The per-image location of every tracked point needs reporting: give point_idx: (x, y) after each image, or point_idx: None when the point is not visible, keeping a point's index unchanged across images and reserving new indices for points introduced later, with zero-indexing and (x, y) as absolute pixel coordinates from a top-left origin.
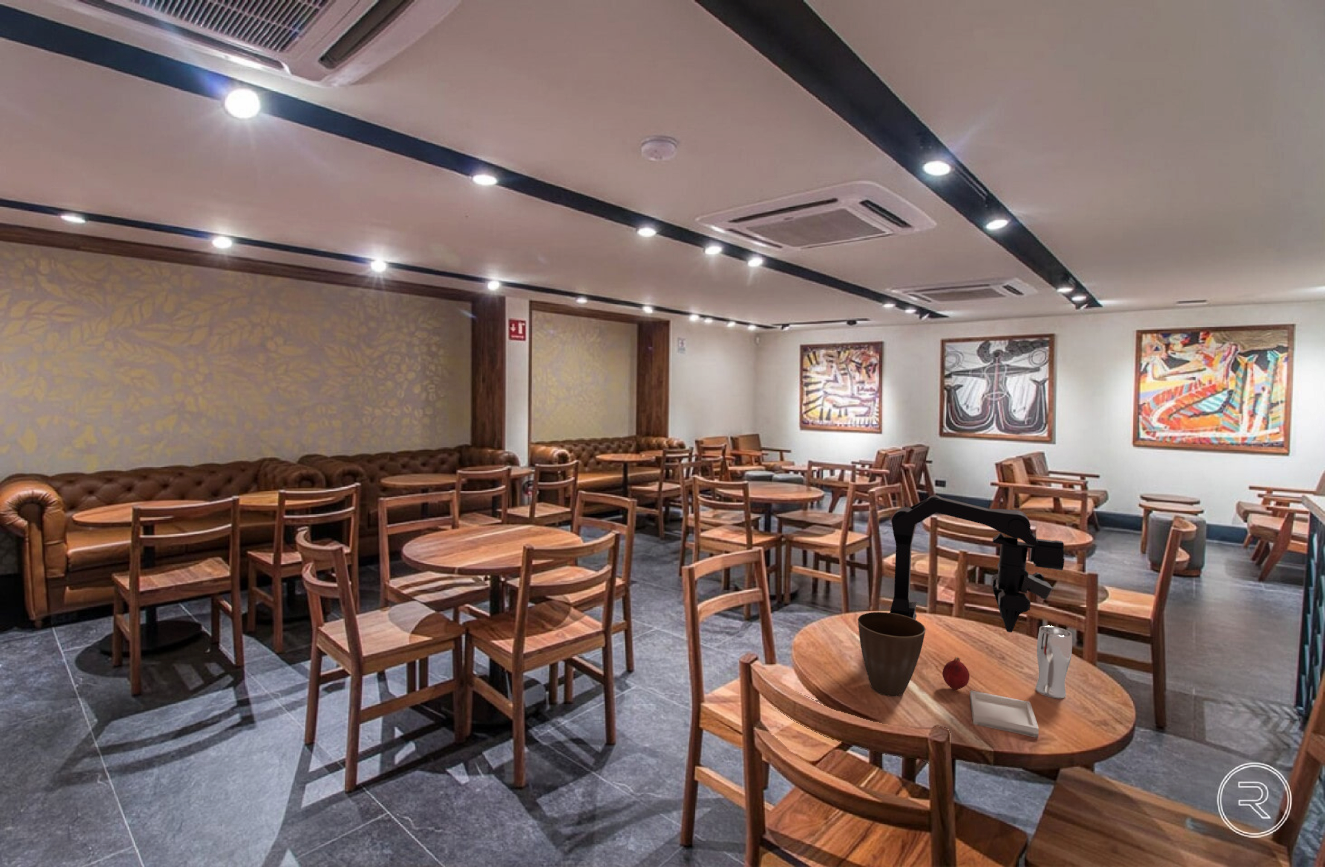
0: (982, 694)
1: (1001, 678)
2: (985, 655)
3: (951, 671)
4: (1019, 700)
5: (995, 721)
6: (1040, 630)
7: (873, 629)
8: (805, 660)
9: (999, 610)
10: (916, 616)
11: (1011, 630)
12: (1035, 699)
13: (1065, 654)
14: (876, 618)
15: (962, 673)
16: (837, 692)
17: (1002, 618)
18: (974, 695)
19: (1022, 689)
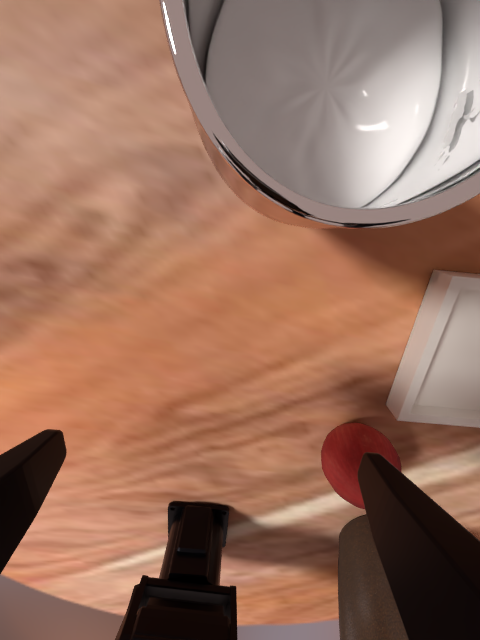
0: (415, 395)
1: (224, 304)
2: (55, 318)
3: None
4: (446, 306)
5: None
6: (384, 226)
7: None
8: (285, 621)
9: (20, 539)
10: (141, 637)
11: (388, 469)
12: (352, 230)
13: (460, 13)
14: None
15: (399, 469)
16: None
17: (65, 452)
18: (428, 415)
19: (286, 256)
